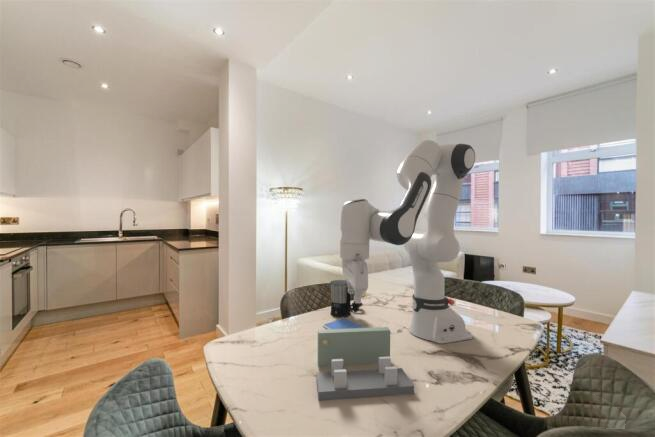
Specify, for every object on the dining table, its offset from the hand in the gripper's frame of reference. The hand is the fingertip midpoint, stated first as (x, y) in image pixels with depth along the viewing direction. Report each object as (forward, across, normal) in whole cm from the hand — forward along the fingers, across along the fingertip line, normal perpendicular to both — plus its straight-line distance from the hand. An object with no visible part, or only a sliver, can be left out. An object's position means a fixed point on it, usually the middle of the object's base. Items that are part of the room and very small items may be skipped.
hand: (353, 297), depth 82 cm
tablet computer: (+20, +23, -3) cm, 31 cm away
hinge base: (+20, -12, 0) cm, 23 cm away
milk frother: (+20, +43, -6) cm, 48 cm away
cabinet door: (+20, 0, 0) cm, 20 cm away
